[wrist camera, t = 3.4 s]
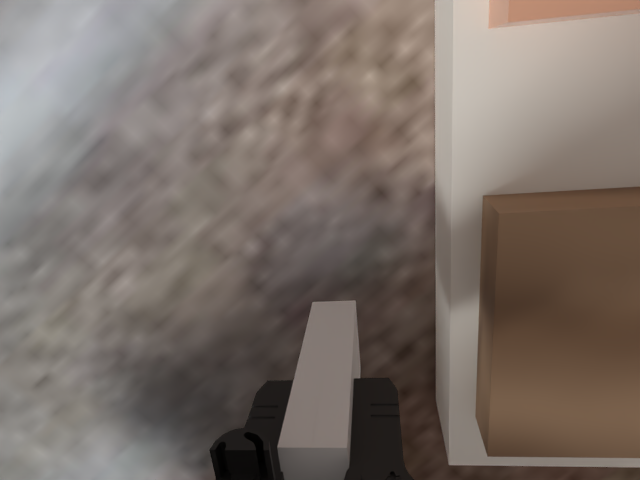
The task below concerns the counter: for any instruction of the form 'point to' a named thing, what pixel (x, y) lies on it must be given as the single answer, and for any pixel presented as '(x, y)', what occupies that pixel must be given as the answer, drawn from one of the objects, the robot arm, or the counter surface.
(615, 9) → the terracotta tile
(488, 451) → the walnut tile
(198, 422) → the counter surface
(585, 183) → the white flat block
